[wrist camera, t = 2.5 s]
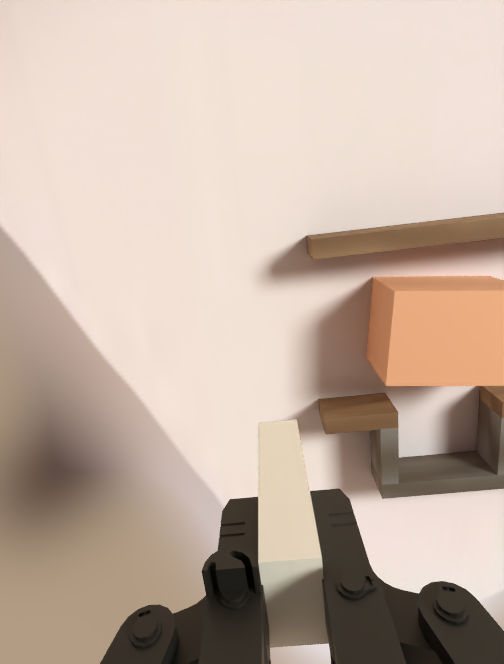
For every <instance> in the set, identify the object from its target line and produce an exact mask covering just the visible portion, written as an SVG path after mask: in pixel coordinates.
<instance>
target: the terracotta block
mask: <svg viewBox="0 0 504 664" xmlns="http://www.w3.org/2000/svg"><path fill="white" fill-rule="evenodd" d="M367 360H368V361H369V362H370V364H371V365H372V367H373V368H374V370H375V371H376V373H377V374H378V375H379V377H380V378H381V380H382V381H383V383H384V384H385V386H504V280H500V279H497V278H494V277H491V276H433V277H373V281H372V294H371V307H370V320H369V332H368V345H367Z"/></svg>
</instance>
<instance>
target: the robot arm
mask: <svg viewBox="0 0 504 664" xmlns="http://www.w3.org/2000/svg"><path fill="white" fill-rule="evenodd" d="M202 574H203V580H204V585H205V591H206V596H205V597H204V598H203V599H202V600H201V601H199V602H198V603H197V604H195V605H193V606H191V607H189V608H187V609H184V610H181V611H179V612H177V613H174V614H172V613H171V611H170V610H169V609H168V608H166V607H164V606H161V605H148V606H145V607H143V608H140V609H138V610H137V611H135V612H134V613H133V614H131V615H130V616H129V617H128V618H127V619H126V621H125V622H124V623H123V625H122V626H121V627H120V629H119V631H118V633H117V634H116V636H115V638H114V640H113V642H112V643H111V645H110V647H109V649H108V650H107V652H106V654H105V656H104V658H103V660H102V661H101V663H100V664H271V661H270V647H283V646H296V645H311V644H324V643H325V644H326V643H329V647H330V654H331V664H504V631H503V630H502V629H501V627H500V626H499V625H498V624H497V622H496V621H495V620H494V619H493V618H492V617H491V615H490V614H489V613H488V612H487V611H486V610H485V608H484V607H483V606H482V605H481V604H480V602H479V601H478V600H477V599H476V598H475V597H474V596H473V595H472V594H471V593H469V592H468V591H467V590H466V589H464V588H462V587H460V586H458V585H456V584H453V583H448V582H444V581H440V582H431V583H430V584H428V585H426V586H424V587H423V588H422V590H421V592H420V593H419V594H418V593H413V592H408V591H404V590H400V589H397V588H394V587H392V586H390V585H388V584H386V583H384V582H383V581H382V580H381V579H380V578H378V577H377V575H376V574H375V573H374V572H373V570H372V568H371V566H370V564H369V560H368V557H367V554H366V551H365V548H364V544H363V541H362V538H361V535H360V532H359V528H358V525H357V522H356V519H355V516H354V513H353V509H352V506H351V503H350V500H349V498H348V497H347V496H346V495H345V494H344V493H343V492H342V491H341V490H340V489H330V490H319V491H310V489H309V484H308V478H307V473H306V467H305V462H304V456H303V451H302V445H301V440H300V434H299V429H298V423H297V419H295V420H284V421H274V422H264V423H258V497H251V498H240V499H230V500H229V502H228V503H227V505H226V506H225V508H224V510H223V511H222V519H221V527H220V538H219V545H218V551H217V552H215V553H214V554H212V555H211V556H210V557H209V558H208V559H207V561H206V562H205V564H204V567H203V569H202Z"/></svg>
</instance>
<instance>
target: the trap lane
mask: <svg viewBox="0 0 504 664" xmlns="http://www.w3.org/2000/svg"><path fill="white" fill-rule="evenodd" d="M306 237H307V250H308V254H309V255H310V257H311V258H312V259H321V258H330V257H339V256H348V255H357V254H365V253H374V252H383V251H392V250H401V249H410V248H418V247H427V246H436V245H445V244H454V243H462V242H471V241H480V240H489V239H498V238H504V213H497V214H489V215H480V216H472V217H463V218H454V219H446V220H437V221H429V222H420V223H411V224H403V225H394V226H386V227H377V228H368V229H360V230H351V231H343V232H334V233H325V234H317V235H308V236H306ZM319 411H320V416H321V420H322V423H323V427H324V430H325V434H334V433H345V432H356V431H367V430H370V435H371V464H372V475H373V477H374V480H375V482H376V484H377V487H378V489H379V492H380V494H381V496H382V499H384V498H396V497H408V496H420V495H432V494H444V493H456V492H467V491H479V490H491V489H503V488H504V386H480V395H479V414H478V433H477V451H471V452H460V453H449V454H437V455H426V456H415V457H403V458H398V411H397V410H396V408H395V407H394V405H393V404H392V402H391V401H390V399H389V398H388V396H387V395H386V393H379V394H368V395H358V396H347V397H337V398H327V399H319Z"/></svg>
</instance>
